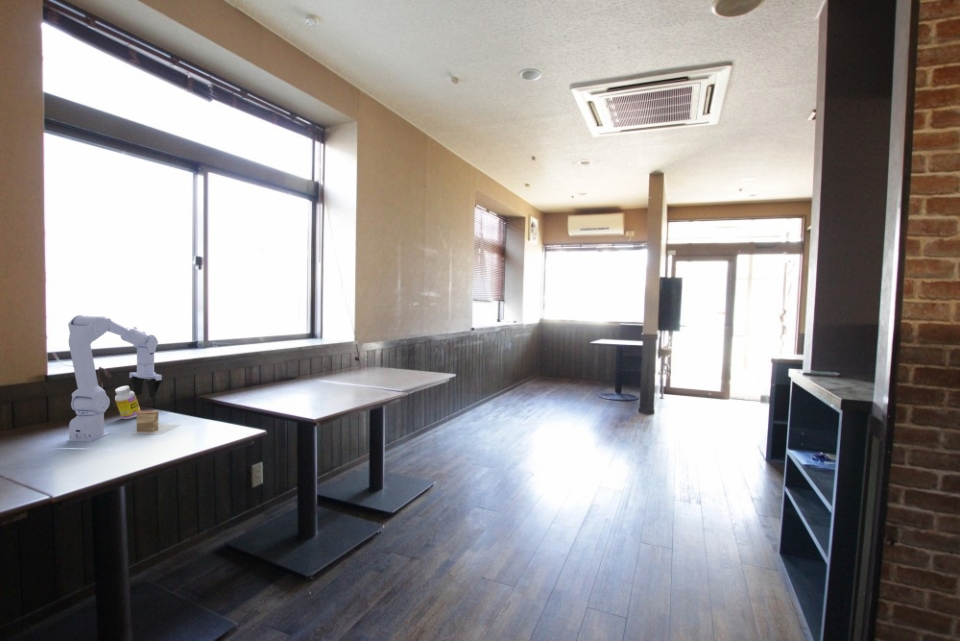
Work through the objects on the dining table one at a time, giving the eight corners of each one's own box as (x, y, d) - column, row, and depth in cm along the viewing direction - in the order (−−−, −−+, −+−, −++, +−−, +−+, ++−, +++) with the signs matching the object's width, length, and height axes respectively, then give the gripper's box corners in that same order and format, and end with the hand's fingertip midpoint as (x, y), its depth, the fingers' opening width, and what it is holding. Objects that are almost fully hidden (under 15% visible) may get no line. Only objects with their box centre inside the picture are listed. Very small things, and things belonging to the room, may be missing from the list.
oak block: (153, 431, 168) (153, 412, 168) (136, 431, 168) (136, 412, 168) (158, 429, 171) (158, 410, 171) (142, 429, 171) (142, 410, 171)
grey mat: (160, 435, 166) (161, 434, 166) (130, 434, 166) (130, 433, 166) (180, 426, 178) (180, 425, 178) (152, 425, 178) (152, 424, 178)
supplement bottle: (135, 419, 183) (125, 391, 179) (118, 420, 183) (107, 393, 178) (145, 410, 190) (135, 383, 185) (128, 411, 189) (119, 385, 185)
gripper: (168, 363, 186) (168, 395, 186) (141, 360, 189) (141, 392, 190) (152, 365, 179) (152, 399, 179) (124, 363, 182) (124, 395, 183)
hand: (145, 395), depth 184 cm, fingers open, 7 cm apart
